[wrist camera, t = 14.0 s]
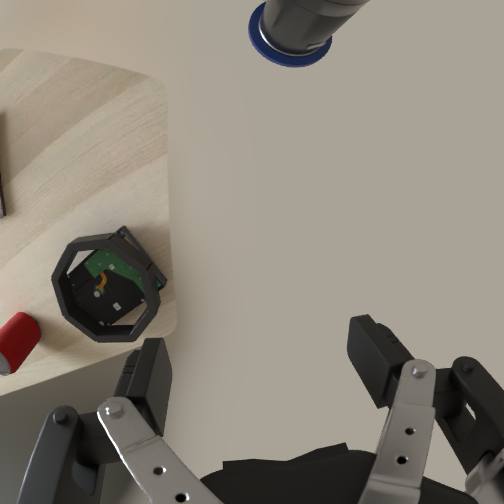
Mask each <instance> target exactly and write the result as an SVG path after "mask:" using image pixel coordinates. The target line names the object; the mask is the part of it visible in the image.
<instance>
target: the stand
mask: <svg viewBox="0 0 504 504" xmlns="http://www.w3.org/2000/svg"><path fill="white" fill-rule="evenodd" d="M4 216H6V211H5V205H4V198H3V191H2V183H1V175H0V217H4Z"/></svg>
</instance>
